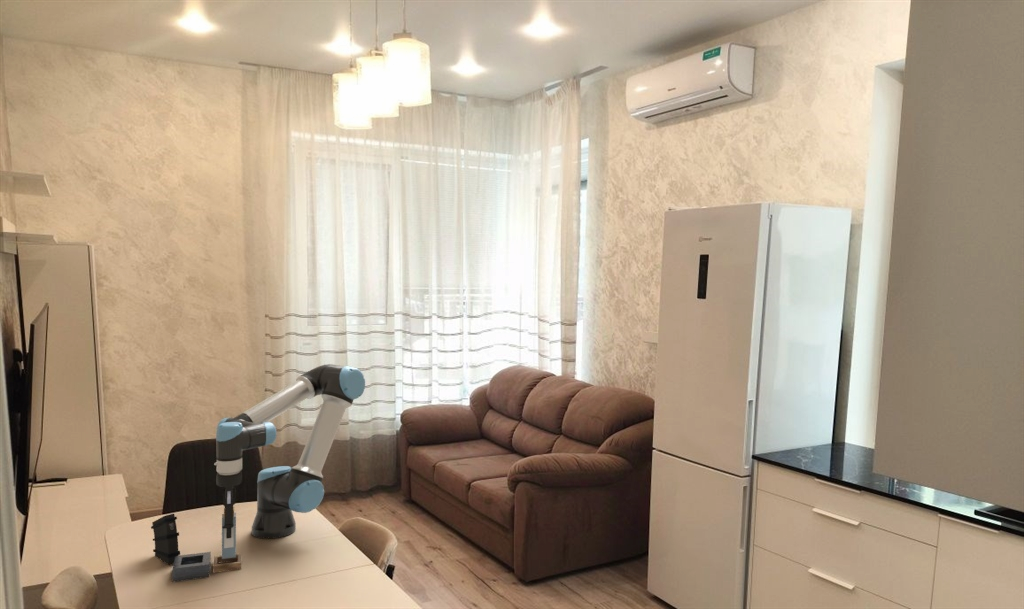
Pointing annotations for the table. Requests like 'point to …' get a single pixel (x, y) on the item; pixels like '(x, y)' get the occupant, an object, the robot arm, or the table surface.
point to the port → (191, 566)
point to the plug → (232, 550)
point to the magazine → (166, 538)
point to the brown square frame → (227, 565)
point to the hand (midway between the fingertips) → (228, 544)
